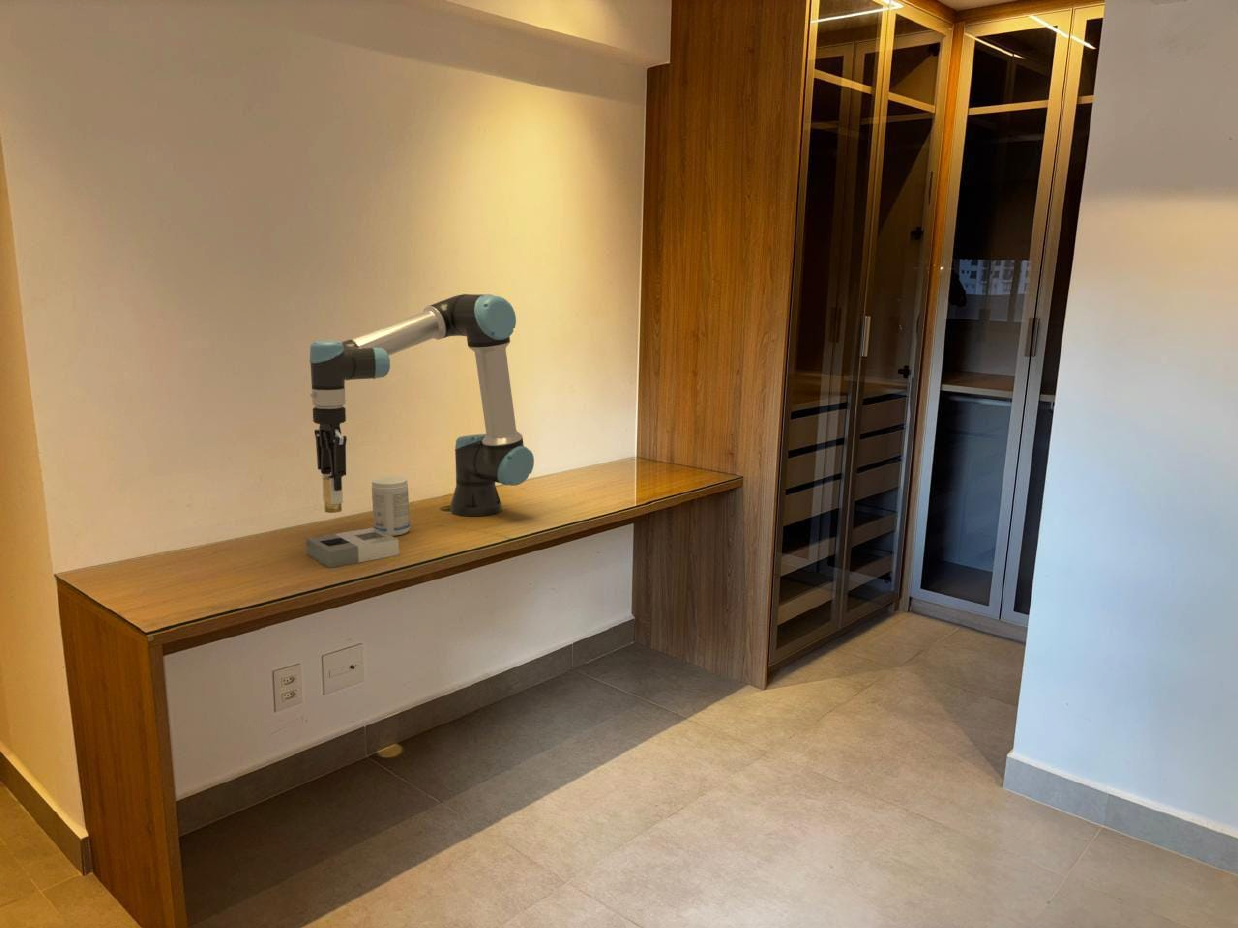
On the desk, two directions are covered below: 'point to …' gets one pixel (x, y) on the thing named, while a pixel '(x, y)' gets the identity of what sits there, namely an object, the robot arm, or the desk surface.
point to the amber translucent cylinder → (329, 499)
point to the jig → (352, 547)
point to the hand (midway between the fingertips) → (333, 501)
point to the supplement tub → (391, 505)
